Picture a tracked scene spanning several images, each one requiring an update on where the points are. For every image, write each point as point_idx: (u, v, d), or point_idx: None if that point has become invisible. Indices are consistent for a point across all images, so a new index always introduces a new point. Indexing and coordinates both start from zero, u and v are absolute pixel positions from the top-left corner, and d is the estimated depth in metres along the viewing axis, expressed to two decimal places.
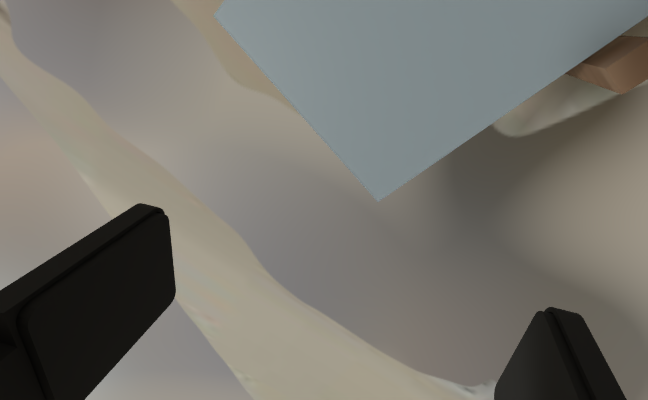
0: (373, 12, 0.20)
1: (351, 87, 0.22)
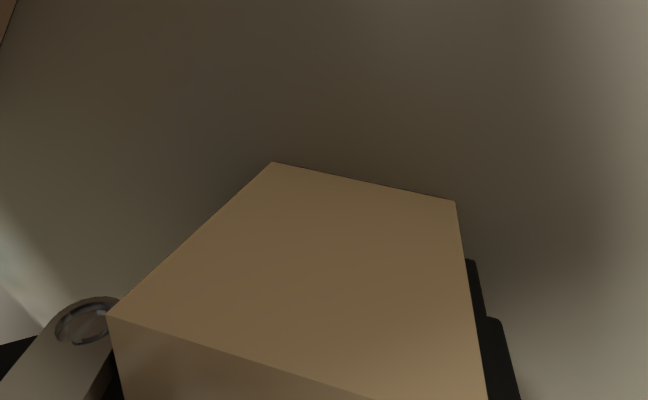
0: None
1: None
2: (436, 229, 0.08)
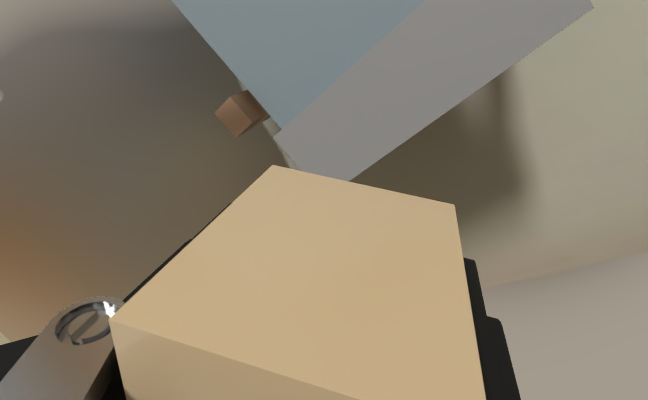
0: None
1: None
2: (437, 234, 0.08)
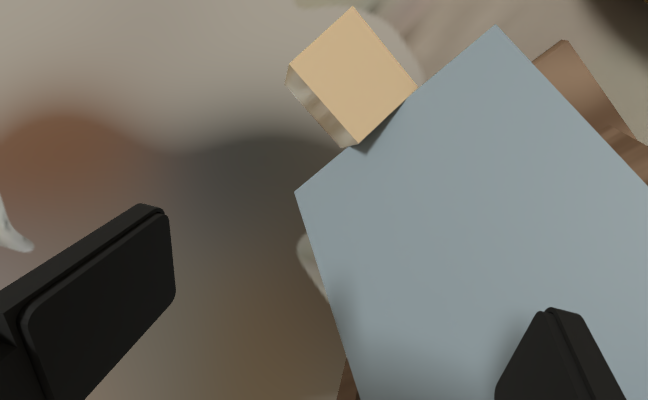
0: (450, 207, 0.18)
1: (388, 177, 0.21)
2: None
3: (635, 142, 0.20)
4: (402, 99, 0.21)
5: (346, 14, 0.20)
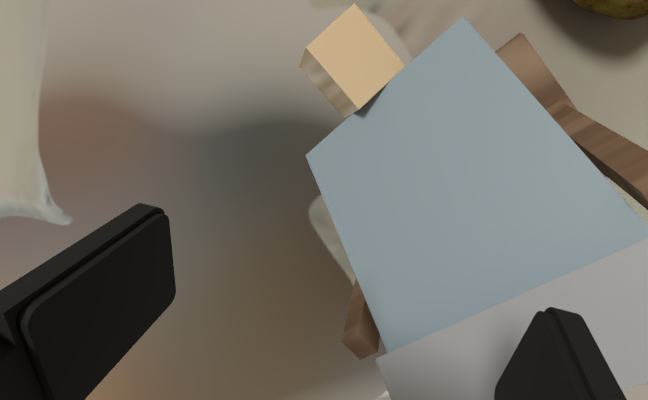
0: (431, 156, 0.24)
1: (384, 137, 0.27)
2: None
3: (571, 109, 0.26)
4: (393, 75, 0.28)
5: (349, 9, 0.27)
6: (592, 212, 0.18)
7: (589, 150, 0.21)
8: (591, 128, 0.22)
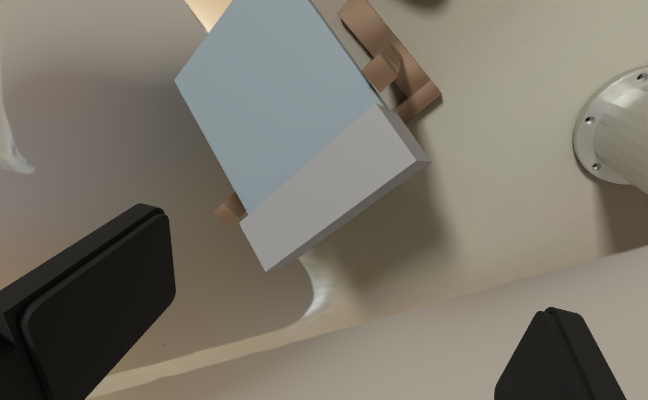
0: (261, 69, 0.32)
1: (229, 57, 0.33)
2: None
3: (387, 44, 0.35)
4: None
5: None
6: (353, 96, 0.28)
7: None
8: None
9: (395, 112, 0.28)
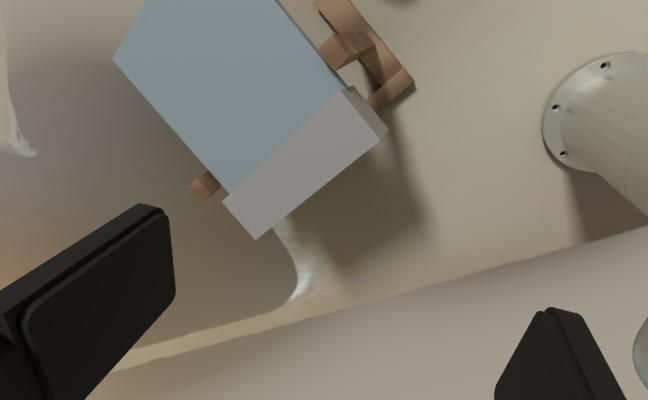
0: (214, 49, 0.31)
1: (173, 35, 0.32)
2: None
3: (357, 32, 0.37)
4: None
5: None
6: (315, 78, 0.29)
7: None
8: None
9: (353, 86, 0.31)
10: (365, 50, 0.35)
